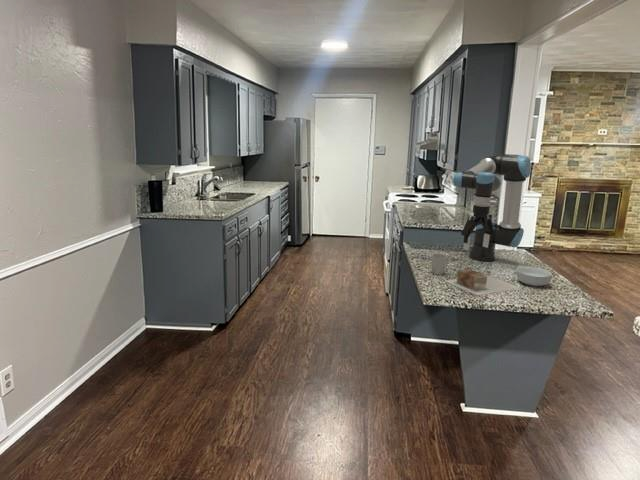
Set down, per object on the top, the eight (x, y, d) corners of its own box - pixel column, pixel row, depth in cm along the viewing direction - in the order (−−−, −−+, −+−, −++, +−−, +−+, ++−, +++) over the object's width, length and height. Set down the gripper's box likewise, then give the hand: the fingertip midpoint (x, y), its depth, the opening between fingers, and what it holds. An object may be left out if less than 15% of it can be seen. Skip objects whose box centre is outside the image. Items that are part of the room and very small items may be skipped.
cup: (445, 272, 242) (448, 254, 239) (444, 277, 234) (447, 258, 232) (430, 270, 244) (432, 252, 242) (428, 274, 237) (431, 256, 234)
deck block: (456, 282, 225) (458, 270, 223) (466, 281, 228) (468, 269, 226) (475, 290, 215) (477, 278, 213) (485, 289, 218) (487, 276, 216)
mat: (484, 275, 242) (484, 274, 242) (520, 288, 223) (520, 287, 223) (444, 281, 227) (444, 280, 227) (478, 296, 209) (478, 295, 209)
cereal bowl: (516, 276, 242) (518, 264, 240) (550, 283, 234) (553, 270, 232) (512, 285, 228) (514, 271, 226) (548, 292, 220) (551, 278, 218)
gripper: (469, 208, 204) (463, 252, 209) (505, 205, 216) (499, 247, 222) (457, 205, 210) (451, 248, 216) (492, 202, 223) (486, 244, 228)
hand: (475, 248), depth 219 cm, fingers open, 13 cm apart
